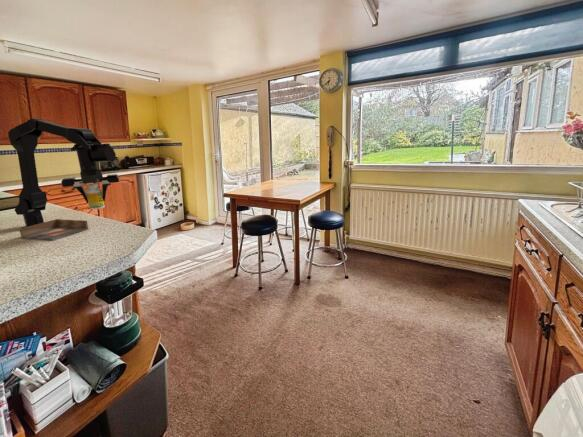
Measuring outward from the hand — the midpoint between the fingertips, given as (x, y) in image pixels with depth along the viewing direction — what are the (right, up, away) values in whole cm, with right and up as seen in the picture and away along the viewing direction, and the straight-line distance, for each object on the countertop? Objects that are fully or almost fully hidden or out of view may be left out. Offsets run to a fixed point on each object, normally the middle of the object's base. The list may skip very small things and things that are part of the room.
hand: (96, 201), depth 123 cm
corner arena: (-12, -12, -5) cm, 18 cm away
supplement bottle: (0, -3, +1) cm, 3 cm away
